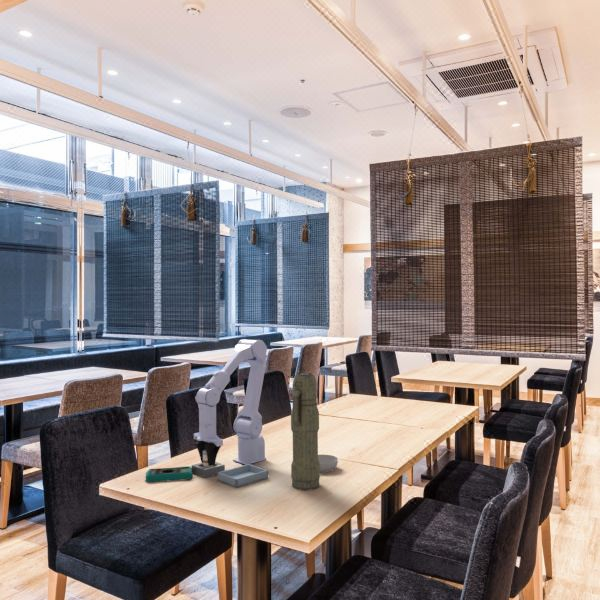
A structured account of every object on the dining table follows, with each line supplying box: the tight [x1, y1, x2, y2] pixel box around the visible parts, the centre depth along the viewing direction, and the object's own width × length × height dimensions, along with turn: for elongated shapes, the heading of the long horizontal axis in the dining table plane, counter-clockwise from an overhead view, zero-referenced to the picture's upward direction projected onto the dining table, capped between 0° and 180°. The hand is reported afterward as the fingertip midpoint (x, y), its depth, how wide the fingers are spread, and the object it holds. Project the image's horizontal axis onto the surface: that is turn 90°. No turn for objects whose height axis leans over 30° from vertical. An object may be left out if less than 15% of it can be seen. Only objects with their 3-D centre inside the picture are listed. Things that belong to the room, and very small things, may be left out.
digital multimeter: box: [145, 466, 193, 483], centre depth 180 cm, size 7×15×3 cm, turn 101°
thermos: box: [290, 372, 321, 491], centre depth 171 cm, size 9×12×35 cm
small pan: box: [318, 454, 339, 473], centre depth 190 cm, size 11×18×4 cm, turn 48°
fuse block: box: [191, 461, 226, 479], centre depth 185 cm, size 8×8×3 cm
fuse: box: [203, 449, 213, 468], centre depth 185 cm, size 4×4×8 cm
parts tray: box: [216, 464, 269, 489], centre depth 177 cm, size 13×10×2 cm
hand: (208, 463), depth 185 cm, fingers closed on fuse, 3 cm apart
